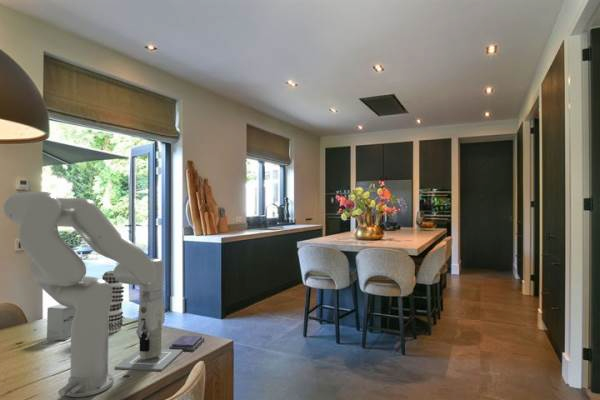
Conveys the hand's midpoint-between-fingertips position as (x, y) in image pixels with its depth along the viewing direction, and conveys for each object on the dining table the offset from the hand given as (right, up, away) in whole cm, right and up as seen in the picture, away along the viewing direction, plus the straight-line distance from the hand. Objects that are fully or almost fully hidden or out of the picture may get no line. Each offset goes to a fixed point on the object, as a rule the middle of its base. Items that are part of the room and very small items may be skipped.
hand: (150, 346), depth 124 cm
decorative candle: (-30, -6, +31) cm, 44 cm away
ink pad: (+8, -5, +13) cm, 16 cm away
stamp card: (0, -5, 0) cm, 5 cm away
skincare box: (0, -3, 0) cm, 3 cm away
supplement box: (-46, -6, +23) cm, 51 cm away
